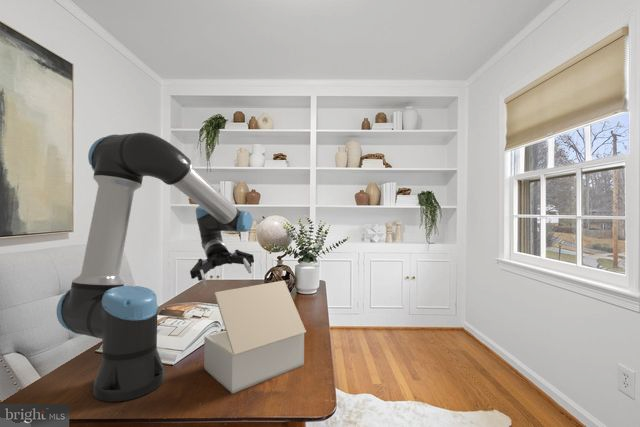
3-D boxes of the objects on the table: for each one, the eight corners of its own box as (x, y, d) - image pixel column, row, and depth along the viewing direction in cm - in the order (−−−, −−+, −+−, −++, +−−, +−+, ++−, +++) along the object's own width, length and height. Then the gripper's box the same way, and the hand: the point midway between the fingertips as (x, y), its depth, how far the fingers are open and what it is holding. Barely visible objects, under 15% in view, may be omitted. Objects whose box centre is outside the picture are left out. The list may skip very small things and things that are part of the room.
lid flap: (233, 355, 78) (234, 354, 78) (214, 293, 86) (215, 292, 86) (305, 332, 93) (306, 331, 93) (283, 281, 101) (284, 280, 100)
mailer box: (232, 393, 79) (232, 356, 79) (204, 368, 91) (204, 336, 90) (303, 365, 94) (304, 333, 93) (271, 346, 105) (272, 318, 105)
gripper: (252, 253, 126) (268, 275, 107) (182, 271, 116) (187, 299, 98) (249, 235, 124) (265, 253, 105) (177, 252, 114) (181, 276, 95)
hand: (227, 275), depth 101 cm, fingers open, 13 cm apart
